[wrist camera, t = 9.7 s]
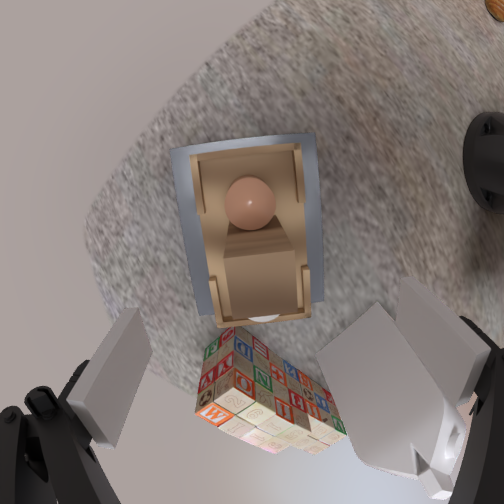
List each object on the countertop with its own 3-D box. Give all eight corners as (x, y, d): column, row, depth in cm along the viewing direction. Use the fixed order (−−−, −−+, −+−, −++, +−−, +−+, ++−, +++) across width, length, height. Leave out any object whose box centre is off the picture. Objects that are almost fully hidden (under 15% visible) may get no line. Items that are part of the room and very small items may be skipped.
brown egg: (271, 175, 25) (277, 180, 20) (268, 217, 26) (274, 231, 21) (227, 174, 24) (224, 178, 20) (226, 216, 26) (223, 229, 21)
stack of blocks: (333, 393, 43) (353, 452, 31) (304, 413, 44) (317, 471, 33) (234, 320, 38) (233, 388, 26) (203, 348, 39) (193, 415, 27)
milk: (314, 354, 40) (366, 522, 15) (377, 301, 38) (485, 449, 13) (358, 388, 43) (412, 522, 18) (413, 343, 41) (498, 466, 16)
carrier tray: (197, 154, 27) (161, 157, 15) (291, 143, 27) (331, 138, 15) (220, 305, 32) (210, 390, 20) (302, 296, 32) (333, 375, 20)
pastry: (503, 32, 24) (516, 28, 20) (477, 2, 22) (490, -4, 19) (509, 9, 21) (522, 5, 18) (486, -18, 20) (497, -24, 16)
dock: (306, 134, 30) (315, 132, 27) (316, 285, 36) (324, 301, 33) (178, 149, 30) (169, 149, 27) (203, 299, 36) (199, 315, 33)
